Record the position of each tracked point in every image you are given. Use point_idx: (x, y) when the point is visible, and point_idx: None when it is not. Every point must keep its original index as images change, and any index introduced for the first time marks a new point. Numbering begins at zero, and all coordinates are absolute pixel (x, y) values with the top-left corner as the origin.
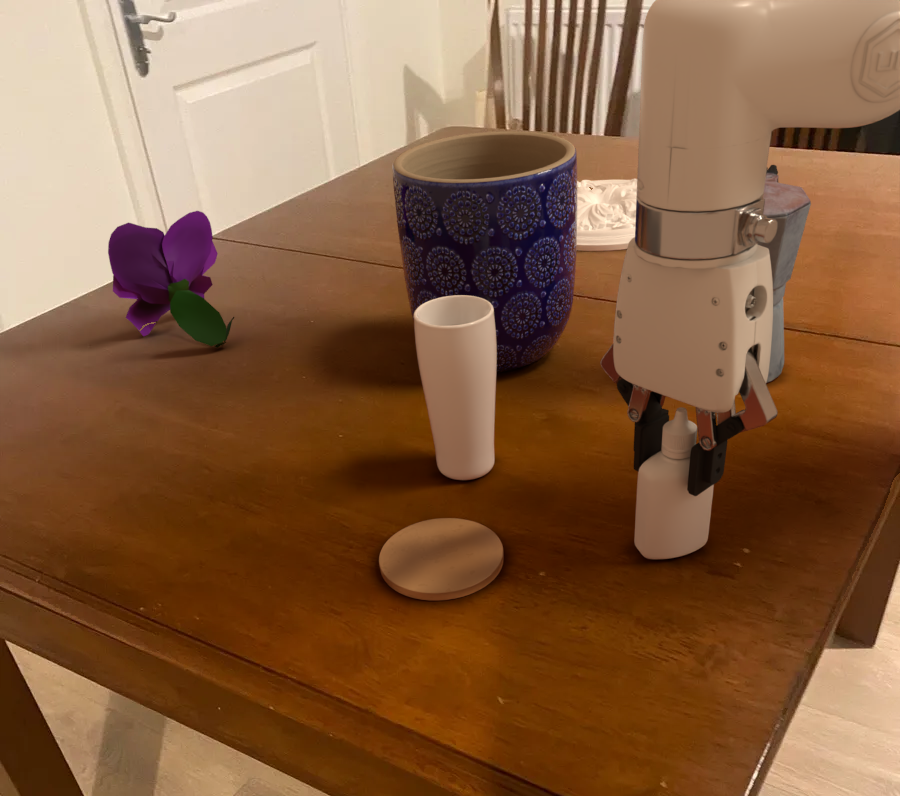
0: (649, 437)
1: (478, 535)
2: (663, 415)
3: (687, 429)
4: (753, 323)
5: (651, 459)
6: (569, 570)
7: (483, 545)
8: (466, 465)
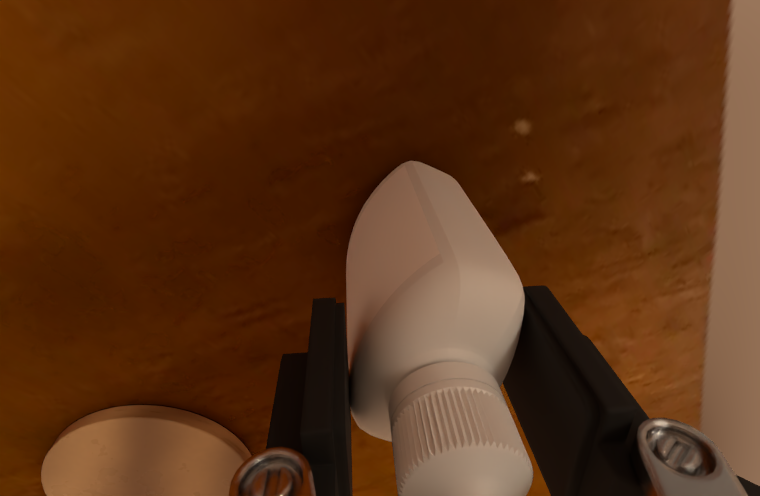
0: (350, 464)
1: (142, 437)
2: (336, 450)
3: None
4: None
5: (384, 432)
6: None
7: (174, 444)
8: None
